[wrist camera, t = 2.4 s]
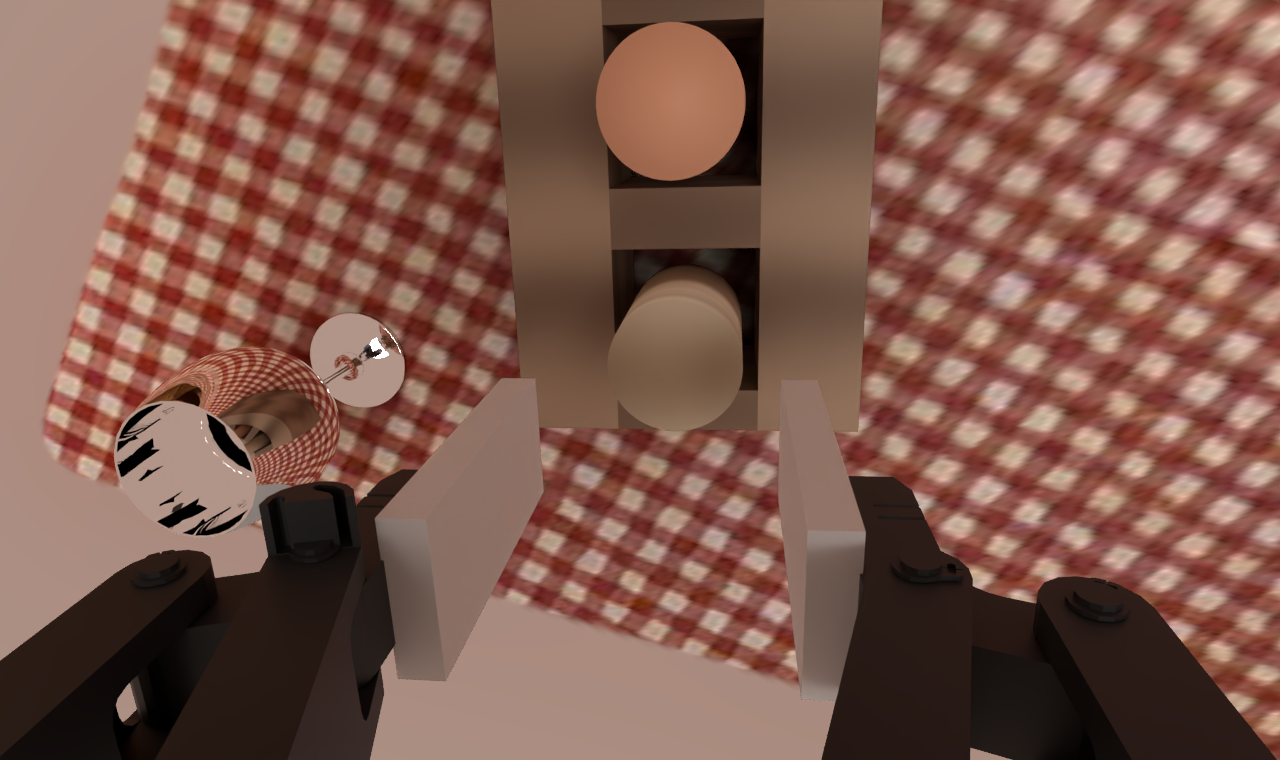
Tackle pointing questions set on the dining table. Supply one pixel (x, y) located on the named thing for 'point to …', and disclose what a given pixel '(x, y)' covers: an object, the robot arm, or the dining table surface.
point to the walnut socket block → (690, 199)
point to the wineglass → (250, 425)
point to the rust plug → (670, 101)
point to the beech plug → (679, 350)
